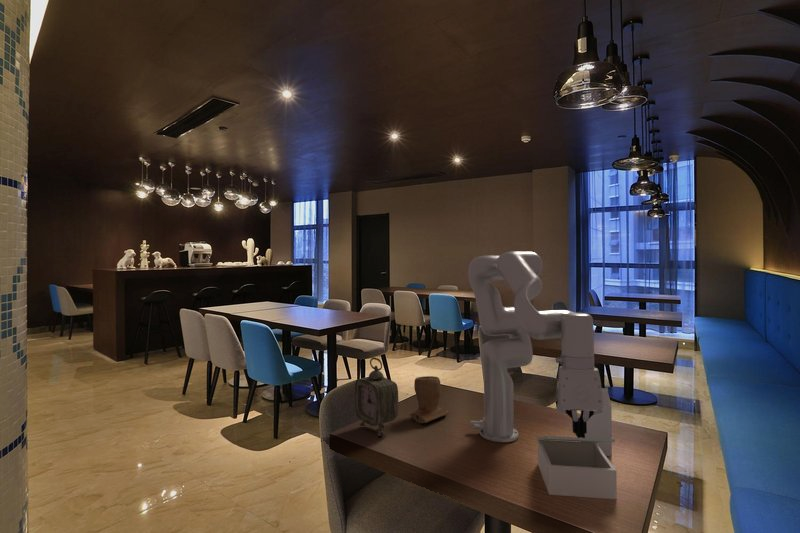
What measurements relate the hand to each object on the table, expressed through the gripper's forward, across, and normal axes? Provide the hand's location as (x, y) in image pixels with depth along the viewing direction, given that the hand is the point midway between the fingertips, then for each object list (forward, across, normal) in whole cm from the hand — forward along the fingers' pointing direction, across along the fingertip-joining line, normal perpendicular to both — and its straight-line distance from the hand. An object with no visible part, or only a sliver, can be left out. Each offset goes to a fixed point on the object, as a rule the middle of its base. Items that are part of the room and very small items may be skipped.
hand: (579, 435), depth 104 cm
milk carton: (+13, +10, +24) cm, 29 cm away
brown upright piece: (+12, -42, +45) cm, 63 cm away
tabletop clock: (+12, -58, +31) cm, 67 cm away
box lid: (+3, 0, +5) cm, 6 cm away
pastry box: (+13, 0, +5) cm, 14 cm away
